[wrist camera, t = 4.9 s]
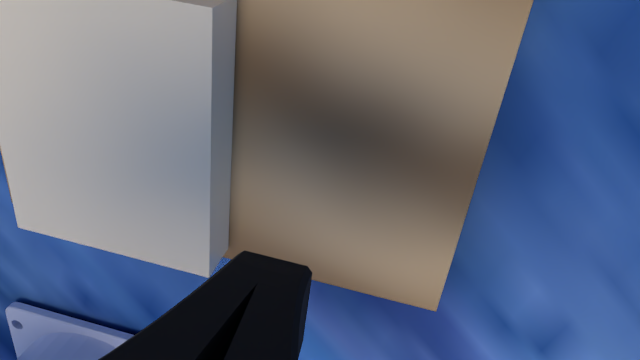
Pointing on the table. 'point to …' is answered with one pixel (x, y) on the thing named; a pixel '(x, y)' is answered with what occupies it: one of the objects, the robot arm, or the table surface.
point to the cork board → (365, 134)
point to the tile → (121, 124)
